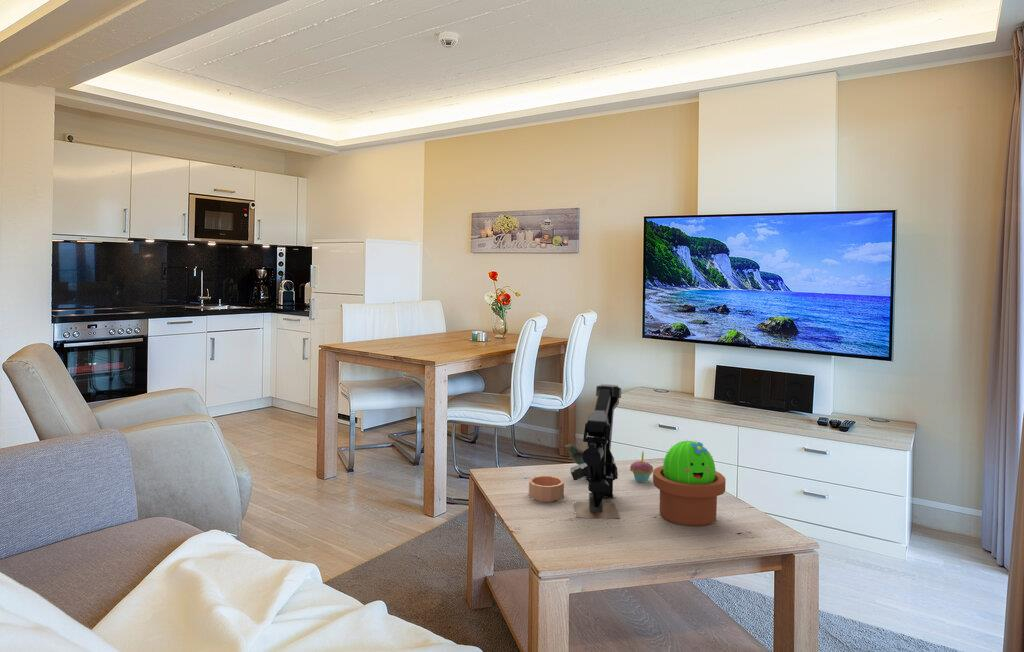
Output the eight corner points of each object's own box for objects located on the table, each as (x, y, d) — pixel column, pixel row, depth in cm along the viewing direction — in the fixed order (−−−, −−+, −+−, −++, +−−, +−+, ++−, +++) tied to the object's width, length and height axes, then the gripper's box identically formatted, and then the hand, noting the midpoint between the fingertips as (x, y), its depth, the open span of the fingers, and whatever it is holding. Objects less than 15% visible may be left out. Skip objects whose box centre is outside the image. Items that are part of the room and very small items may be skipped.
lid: (614, 504, 212) (614, 488, 211) (619, 520, 198) (620, 503, 197) (572, 503, 212) (573, 487, 212) (575, 519, 198) (575, 501, 198)
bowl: (562, 489, 224) (563, 476, 224) (564, 501, 212) (564, 487, 212) (529, 488, 225) (529, 475, 224) (528, 500, 213) (528, 486, 212)
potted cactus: (643, 504, 211) (645, 431, 209) (706, 503, 213) (709, 430, 211) (665, 530, 189) (667, 449, 187) (735, 529, 191) (738, 448, 189)
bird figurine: (612, 468, 248) (587, 426, 245) (619, 476, 238) (594, 433, 235) (583, 486, 247) (558, 444, 244) (589, 495, 237) (563, 451, 234)
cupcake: (654, 484, 232) (655, 452, 231) (631, 483, 232) (632, 452, 231) (650, 476, 240) (651, 446, 239) (627, 476, 240) (628, 445, 239)
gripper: (570, 448, 213) (569, 493, 214) (573, 465, 194) (572, 514, 196) (603, 449, 213) (602, 494, 214) (609, 466, 194) (608, 515, 195)
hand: (595, 504), depth 205 cm, fingers open, 6 cm apart
